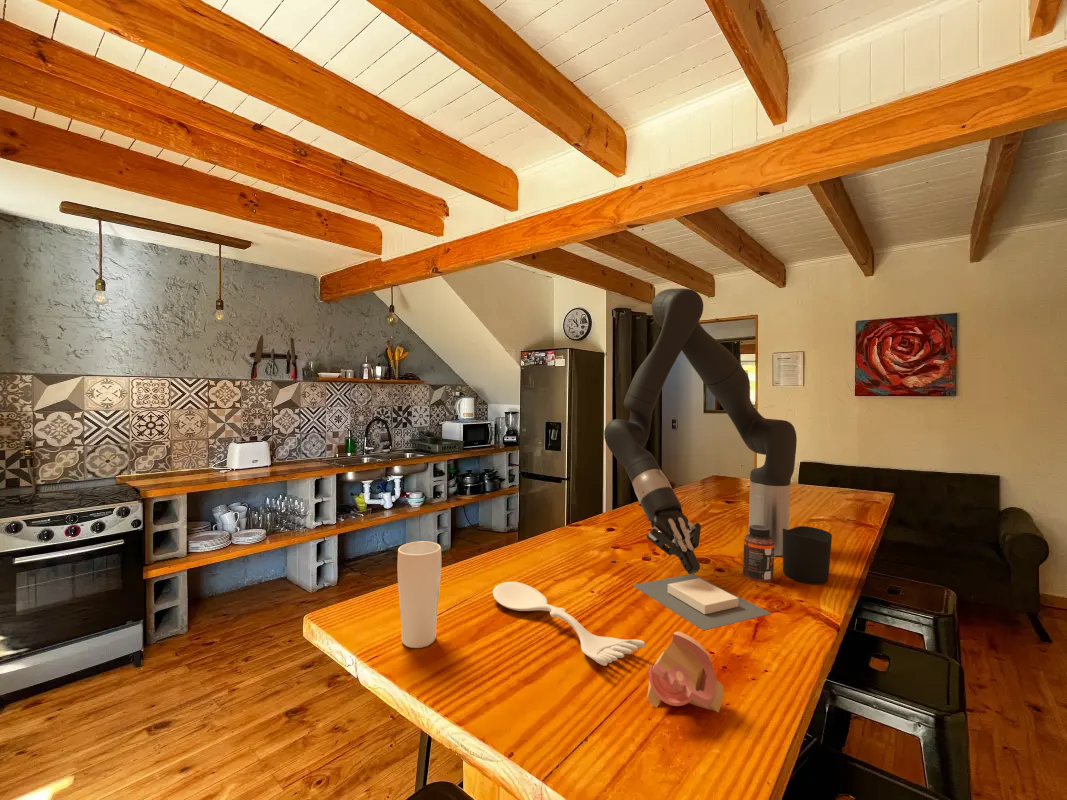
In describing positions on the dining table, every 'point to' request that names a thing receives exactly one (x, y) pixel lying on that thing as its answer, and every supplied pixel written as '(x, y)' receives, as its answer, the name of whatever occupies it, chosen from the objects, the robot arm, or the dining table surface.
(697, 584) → the tile
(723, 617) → the mat
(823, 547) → the pen holder
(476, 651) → the dining table surface
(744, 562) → the supplement bottle
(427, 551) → the drinking glass
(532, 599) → the spoon
